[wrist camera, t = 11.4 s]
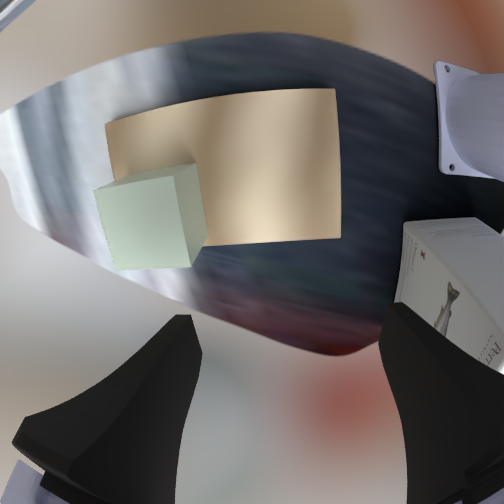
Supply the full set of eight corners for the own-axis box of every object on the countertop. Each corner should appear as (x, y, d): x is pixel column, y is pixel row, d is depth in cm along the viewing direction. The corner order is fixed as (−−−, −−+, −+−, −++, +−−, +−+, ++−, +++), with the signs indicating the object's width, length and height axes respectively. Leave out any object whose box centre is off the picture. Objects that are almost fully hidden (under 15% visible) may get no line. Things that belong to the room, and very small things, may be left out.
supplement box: (400, 219, 17) (515, 345, 6) (475, 215, 16) (585, 305, 5) (389, 306, 20) (447, 441, 9) (459, 294, 19) (529, 399, 8)
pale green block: (196, 162, 15) (173, 175, 12) (208, 235, 17) (191, 266, 14) (128, 174, 16) (93, 190, 12) (143, 241, 18) (115, 270, 14)
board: (330, 91, 14) (334, 88, 13) (336, 230, 18) (340, 237, 17) (114, 123, 15) (104, 124, 14) (138, 244, 19) (131, 251, 18)
